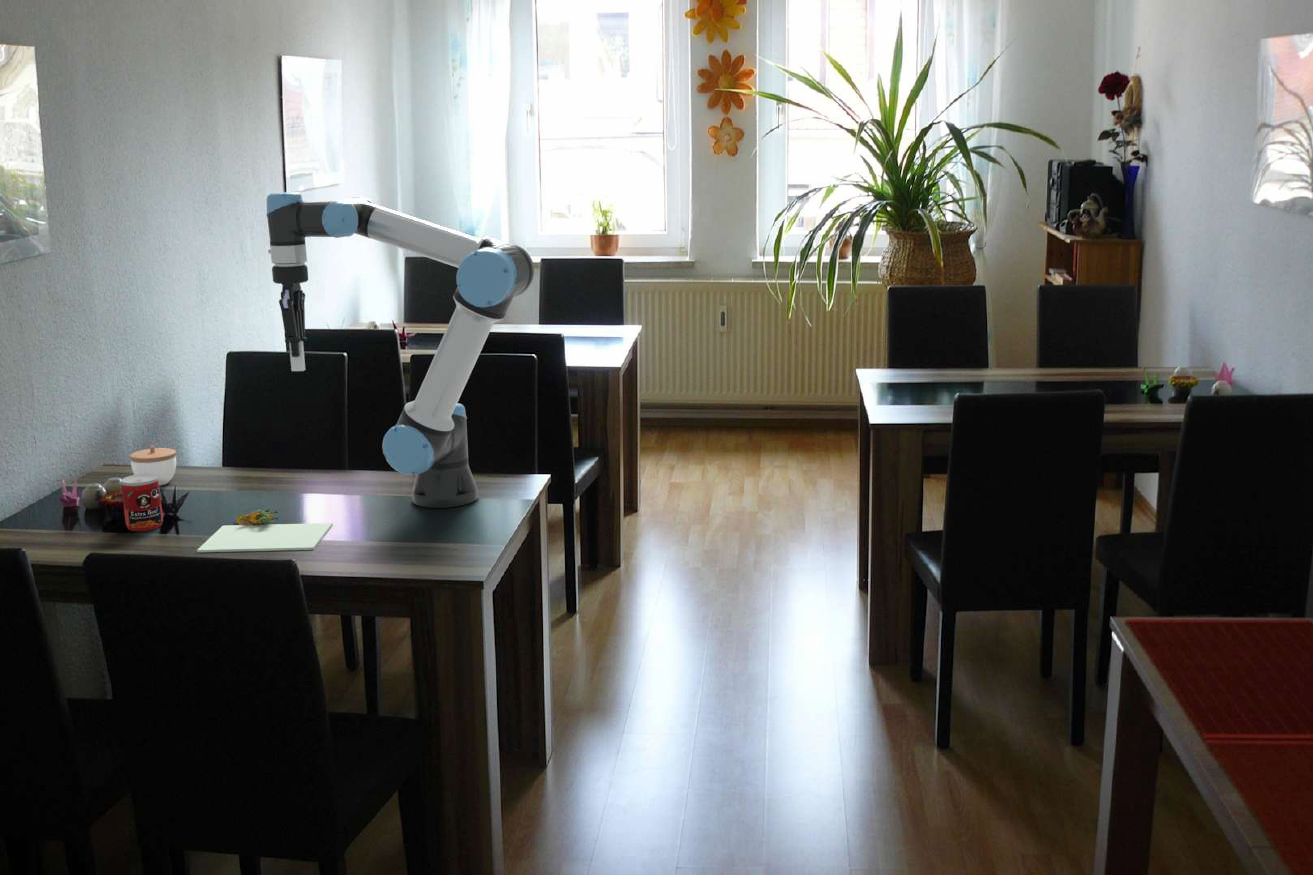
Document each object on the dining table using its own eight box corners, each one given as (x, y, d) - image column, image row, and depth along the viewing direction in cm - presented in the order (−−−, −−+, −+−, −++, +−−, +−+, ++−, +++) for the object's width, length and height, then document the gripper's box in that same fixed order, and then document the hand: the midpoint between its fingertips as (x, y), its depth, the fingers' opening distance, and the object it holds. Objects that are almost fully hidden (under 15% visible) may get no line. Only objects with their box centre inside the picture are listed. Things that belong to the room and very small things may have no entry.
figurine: (287, 522, 282) (256, 529, 276) (254, 520, 290) (223, 527, 283) (285, 508, 282) (254, 515, 275) (252, 506, 289) (221, 513, 283)
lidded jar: (169, 488, 314) (165, 451, 312) (125, 489, 314) (121, 452, 312) (185, 477, 325) (181, 441, 322) (143, 477, 325) (139, 441, 323)
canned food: (128, 533, 278) (122, 484, 276) (124, 524, 285) (118, 476, 283) (165, 528, 282) (160, 479, 279) (161, 519, 289) (155, 471, 286)
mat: (332, 525, 282) (332, 522, 281) (313, 549, 265) (313, 547, 265) (223, 527, 281) (222, 525, 281) (197, 552, 265) (196, 550, 265)
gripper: (280, 261, 287) (289, 365, 293) (263, 267, 274) (273, 376, 280) (313, 261, 287) (322, 365, 293) (298, 267, 274) (308, 375, 280)
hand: (298, 370), depth 286 cm, fingers closed
